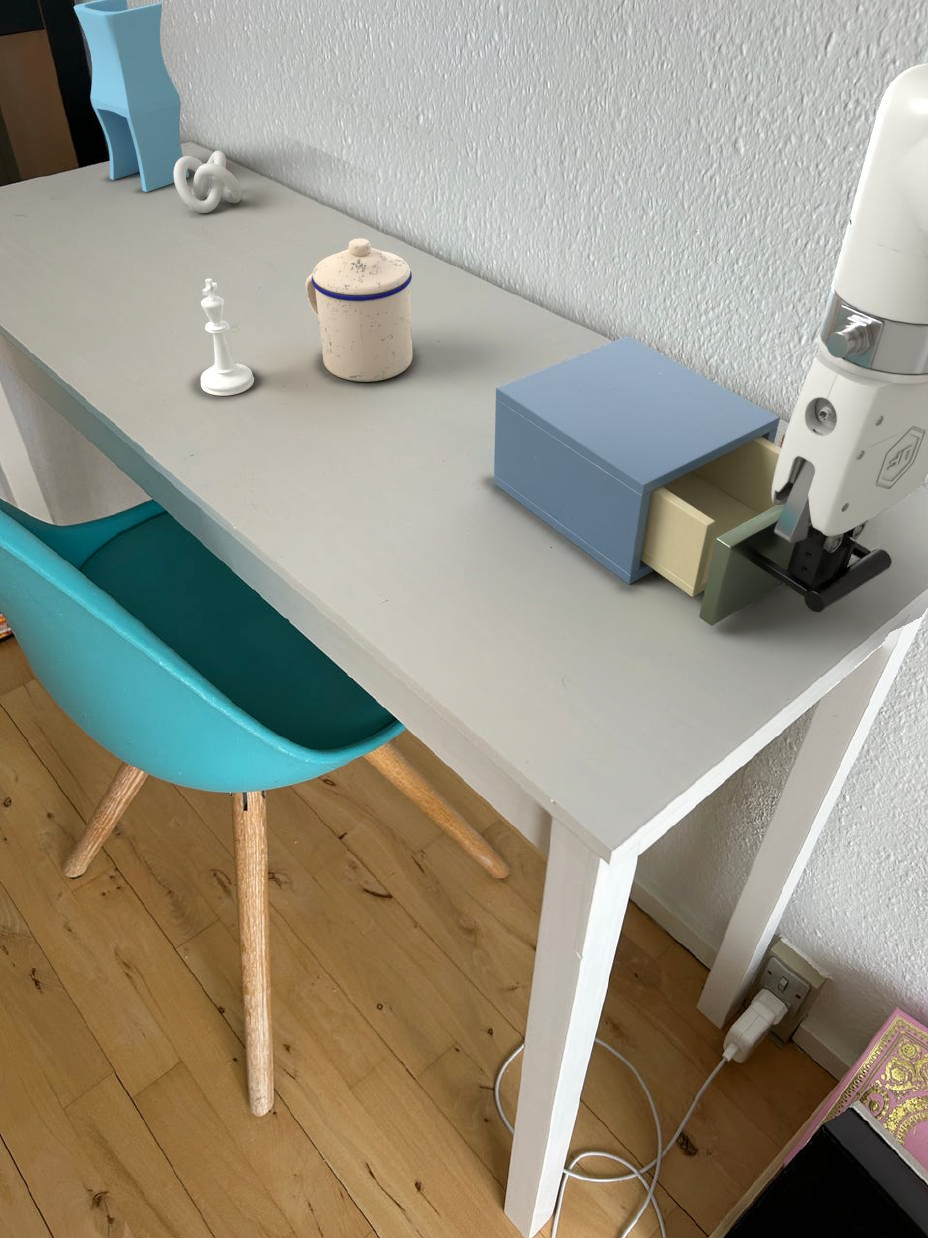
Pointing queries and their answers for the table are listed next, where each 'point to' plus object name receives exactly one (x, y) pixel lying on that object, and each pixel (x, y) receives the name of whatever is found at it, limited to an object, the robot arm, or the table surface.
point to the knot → (206, 182)
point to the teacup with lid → (363, 312)
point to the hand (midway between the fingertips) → (812, 580)
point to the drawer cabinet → (613, 442)
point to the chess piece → (221, 351)
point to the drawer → (736, 537)
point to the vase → (133, 90)
